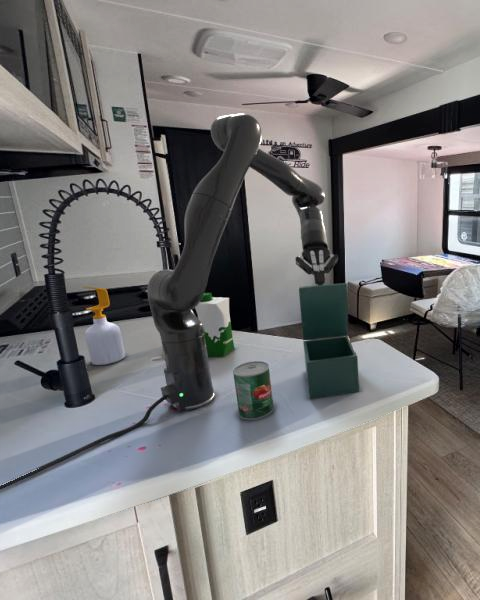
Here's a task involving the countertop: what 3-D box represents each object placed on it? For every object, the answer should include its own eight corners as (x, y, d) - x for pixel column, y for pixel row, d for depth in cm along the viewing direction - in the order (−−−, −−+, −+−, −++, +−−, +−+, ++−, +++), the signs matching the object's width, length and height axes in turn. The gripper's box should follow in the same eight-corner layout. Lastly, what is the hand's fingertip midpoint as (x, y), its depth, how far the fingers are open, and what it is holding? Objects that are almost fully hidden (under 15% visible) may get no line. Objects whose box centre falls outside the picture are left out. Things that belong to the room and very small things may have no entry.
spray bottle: (84, 364, 121) (65, 288, 115) (112, 353, 129) (95, 282, 123) (105, 367, 118) (87, 289, 112) (132, 355, 127) (116, 283, 121)
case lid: (346, 284, 102) (346, 282, 103) (298, 288, 99) (298, 286, 100) (347, 335, 110) (347, 333, 111) (303, 340, 107) (302, 338, 108)
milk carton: (214, 347, 132) (206, 290, 127) (239, 347, 131) (231, 291, 126) (199, 357, 124) (189, 297, 119) (224, 358, 122) (215, 297, 117)
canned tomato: (272, 417, 88) (267, 373, 85) (236, 422, 86) (229, 377, 83) (274, 400, 95) (270, 359, 92) (241, 404, 94) (235, 363, 91)
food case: (359, 391, 98) (357, 356, 96) (309, 398, 95) (306, 362, 93) (349, 367, 113) (347, 335, 110) (306, 372, 110) (303, 340, 108)
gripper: (291, 229, 112) (296, 278, 103) (336, 227, 115) (344, 275, 107) (292, 246, 118) (297, 293, 110) (334, 243, 121) (342, 289, 113)
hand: (320, 284), depth 108 cm, fingers closed
